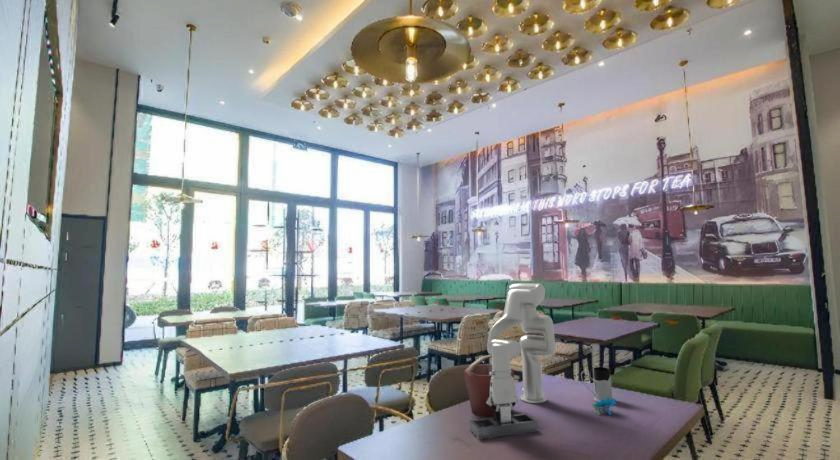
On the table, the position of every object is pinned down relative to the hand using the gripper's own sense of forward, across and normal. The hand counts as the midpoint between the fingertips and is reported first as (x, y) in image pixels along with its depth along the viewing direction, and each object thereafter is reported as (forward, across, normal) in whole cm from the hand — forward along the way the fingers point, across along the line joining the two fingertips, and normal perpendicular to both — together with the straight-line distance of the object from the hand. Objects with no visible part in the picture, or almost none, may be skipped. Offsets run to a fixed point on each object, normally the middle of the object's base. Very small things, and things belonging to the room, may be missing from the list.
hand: (503, 419), depth 160 cm
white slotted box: (+1, 0, 0) cm, 1 cm away
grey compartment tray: (+5, 0, 0) cm, 5 cm away
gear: (+5, +53, +5) cm, 53 cm away
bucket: (+5, +5, +22) cm, 24 cm away
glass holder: (+5, +62, +20) cm, 65 cm away
